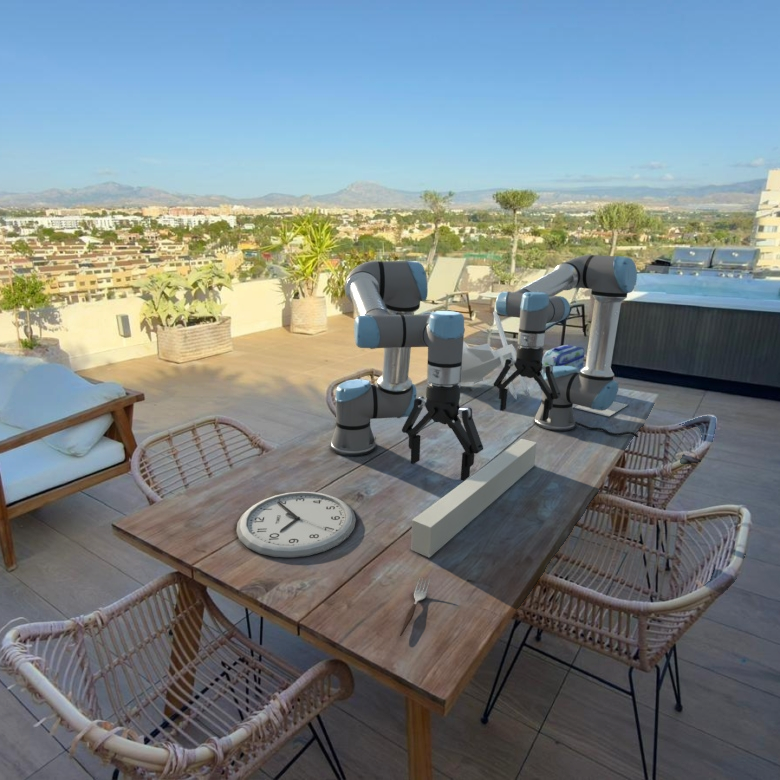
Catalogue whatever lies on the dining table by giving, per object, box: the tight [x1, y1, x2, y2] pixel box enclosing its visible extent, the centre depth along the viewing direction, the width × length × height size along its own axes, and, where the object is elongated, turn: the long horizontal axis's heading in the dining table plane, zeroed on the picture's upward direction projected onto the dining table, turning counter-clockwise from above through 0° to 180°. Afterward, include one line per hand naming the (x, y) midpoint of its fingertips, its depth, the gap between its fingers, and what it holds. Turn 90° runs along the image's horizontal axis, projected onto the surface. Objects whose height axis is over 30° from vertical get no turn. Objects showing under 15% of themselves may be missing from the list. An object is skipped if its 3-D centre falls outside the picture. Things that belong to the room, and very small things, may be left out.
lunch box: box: [539, 344, 585, 391], centre depth 246 cm, size 26×11×21 cm, turn 135°
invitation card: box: [573, 401, 629, 418], centre depth 226 cm, size 21×1×15 cm
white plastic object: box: [459, 310, 531, 400], centre depth 245 cm, size 37×45×31 cm
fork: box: [399, 577, 431, 637], centre depth 104 cm, size 3×16×2 cm, turn 160°
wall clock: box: [236, 491, 357, 558], centre depth 134 cm, size 30×2×30 cm
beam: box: [410, 438, 538, 559], centre depth 145 cm, size 63×5×8 cm, turn 143°
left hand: (439, 470), depth 122 cm, fingers open, 13 cm apart
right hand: (523, 414), depth 159 cm, fingers open, 13 cm apart
